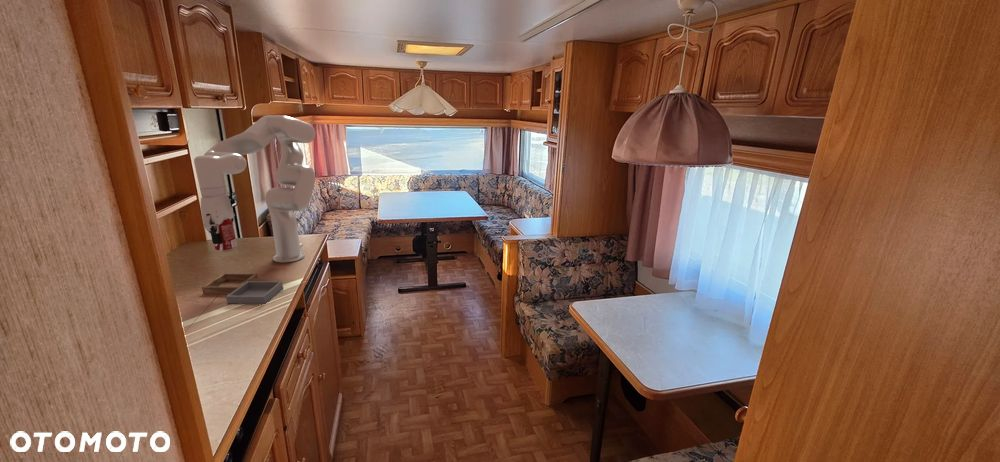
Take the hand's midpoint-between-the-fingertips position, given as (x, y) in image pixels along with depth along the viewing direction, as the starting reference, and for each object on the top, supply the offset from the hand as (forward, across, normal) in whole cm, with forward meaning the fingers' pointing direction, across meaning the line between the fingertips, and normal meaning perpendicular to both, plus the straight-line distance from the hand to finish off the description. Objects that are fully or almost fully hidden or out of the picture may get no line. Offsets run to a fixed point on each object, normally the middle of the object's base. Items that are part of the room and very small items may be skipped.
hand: (224, 239), depth 145 cm
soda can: (+4, 0, 0) cm, 4 cm away
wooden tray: (+18, +1, 0) cm, 18 cm away
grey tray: (+18, +9, +13) cm, 24 cm away
